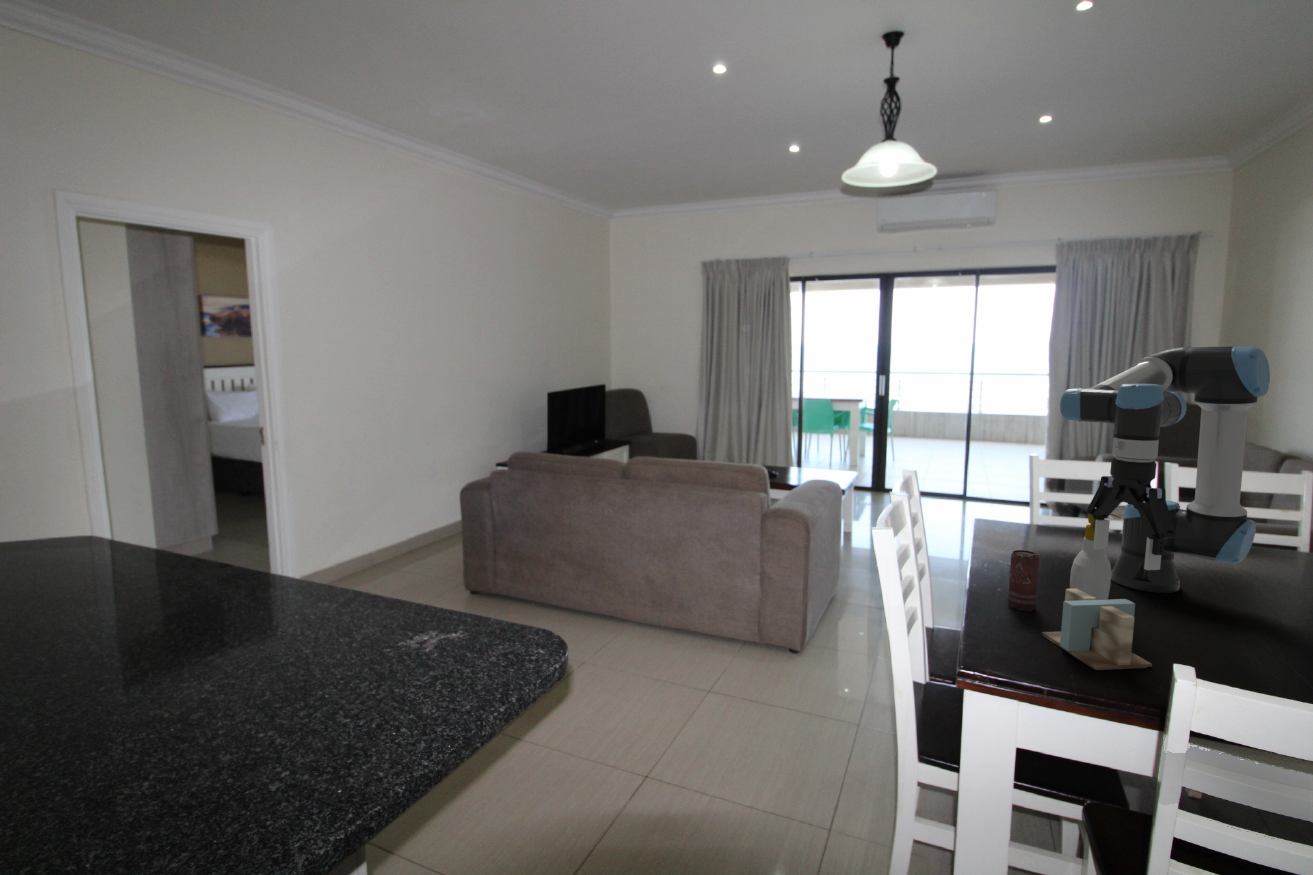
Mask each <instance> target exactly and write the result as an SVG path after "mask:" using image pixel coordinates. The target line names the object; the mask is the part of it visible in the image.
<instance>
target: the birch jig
mask: <svg viewBox="0 0 1313 875" xmlns="http://www.w3.org/2000/svg"><path fill="white" fill-rule="evenodd" d="M1080 600H1096V598H1095V597H1093V596H1091V595H1089V594H1087V593H1085V592H1083V591H1080V590H1078V589H1070V588H1065V595H1064V601H1080ZM1135 619H1136V618H1135V616H1134V617H1133V616H1131V615H1129V614H1127V613H1125V612H1123V611H1121V610H1119V609H1117V608H1115V607H1113V606H1105V607H1101V610H1100V621H1099V627H1096V628H1092V629H1091V640H1090V650H1082V651H1067V650H1066V649H1064V648H1063V647H1061V646H1060V639H1061V630H1060V631H1042V632H1041V636H1042V637H1044V638H1045V639H1046V640H1049V641H1050V642H1051V643H1053V644H1055V646H1057V647H1059V648H1061V649H1062V650H1064V651H1065V652H1067V653H1068V654H1070V655H1071V656H1073V657H1075V658H1076V659H1077V660H1079V661H1080V662H1082V663H1084V664H1085V665H1087V666H1089V667H1091V669H1093V670H1095V671H1104V670H1105V671H1107V670H1125V669H1126V670H1129V669H1148V668H1147V667H1153V663H1151V662H1150V661H1148V660H1146V659H1145V658H1143V657H1141V656H1139V655H1137V654H1135V653H1134V652H1132V650H1133V649H1132V648H1133V638H1134V628H1135V626H1134V625H1135Z"/></svg>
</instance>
